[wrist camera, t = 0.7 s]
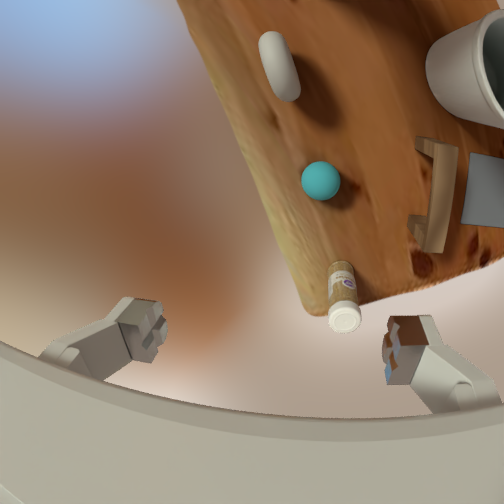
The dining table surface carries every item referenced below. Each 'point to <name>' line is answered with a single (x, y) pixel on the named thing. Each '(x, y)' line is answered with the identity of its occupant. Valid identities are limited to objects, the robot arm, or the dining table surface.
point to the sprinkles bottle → (343, 298)
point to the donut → (279, 66)
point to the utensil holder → (471, 70)
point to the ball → (320, 180)
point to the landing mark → (484, 192)
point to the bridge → (436, 195)
